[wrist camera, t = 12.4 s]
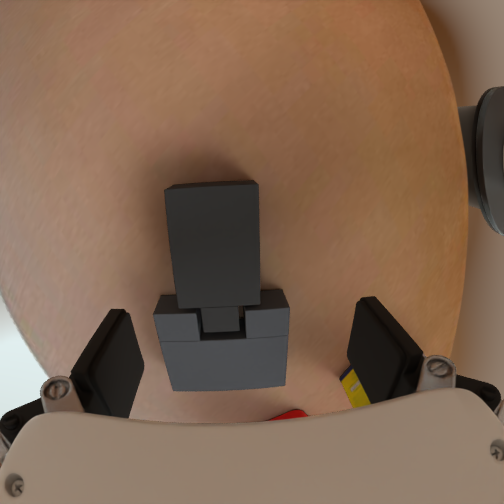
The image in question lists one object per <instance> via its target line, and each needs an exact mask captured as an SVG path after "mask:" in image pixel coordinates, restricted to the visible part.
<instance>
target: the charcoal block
mask: <svg viewBox="0 0 504 504" xmlns="http://www.w3.org/2000/svg"><path fill="white" fill-rule="evenodd" d="M260 296H261V304H259V305H244V306H243V313H244V318H239V328H240V330H239V331H227V332H205V333H204V330H203V323H202V315H201V308H180V309H179V307H178V301H177V295H164V296H160V299H159V301H158V303H157V306H156V308H155V311H154V313H153V317H154V321H155V326H156V330H157V334H158V338H159V341H160V346H161V350H162V354H163V357H164V361H165V365H166V368H167V372H168V375H169V379H170V382H171V385H172V389H173V391H227V390H245V389H258V388H269V387H278V386H285V380H286V366H287V351H288V334H289V315H290V307H289V305H288V302H287V300H286V297H285V295H284V293H283V290H282V289H281V290H267V291H260Z"/></svg>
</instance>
